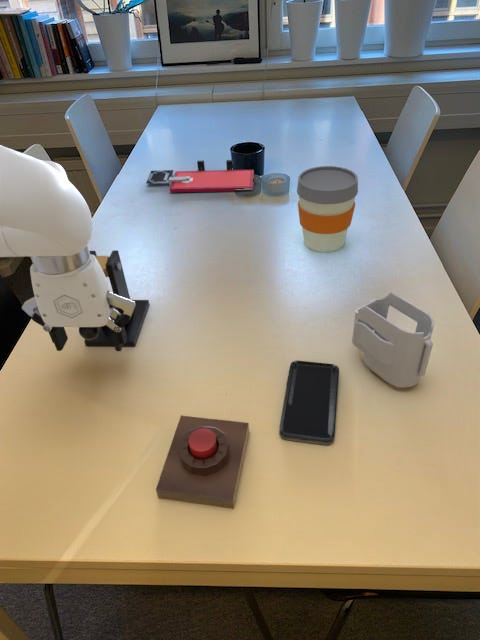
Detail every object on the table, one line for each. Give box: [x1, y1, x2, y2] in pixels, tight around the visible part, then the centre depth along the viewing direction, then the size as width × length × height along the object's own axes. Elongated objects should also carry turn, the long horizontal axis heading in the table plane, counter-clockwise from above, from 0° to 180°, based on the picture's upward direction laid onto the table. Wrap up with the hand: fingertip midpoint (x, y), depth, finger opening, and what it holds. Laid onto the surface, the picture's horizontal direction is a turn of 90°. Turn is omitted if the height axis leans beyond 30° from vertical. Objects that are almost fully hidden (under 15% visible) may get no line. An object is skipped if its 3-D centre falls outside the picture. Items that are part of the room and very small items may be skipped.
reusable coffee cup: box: [296, 165, 359, 253], centre depth 105 cm, size 12×13×15 cm
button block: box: [155, 415, 250, 510], centre depth 66 cm, size 12×10×4 cm
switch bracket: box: [83, 250, 150, 348], centre depth 87 cm, size 12×9×15 cm
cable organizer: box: [351, 291, 435, 388], centre depth 75 cm, size 7×12×12 cm, turn 35°
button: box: [189, 429, 217, 459], centre depth 64 cm, size 4×4×2 cm
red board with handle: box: [145, 159, 255, 193], centre depth 137 cm, size 30×3×15 cm
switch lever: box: [78, 255, 110, 340], centre depth 80 cm, size 15×3×3 cm, turn 176°
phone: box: [278, 360, 340, 446], centre depth 74 cm, size 8×1×15 cm
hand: (91, 345), depth 79 cm, fingers open, 9 cm apart
